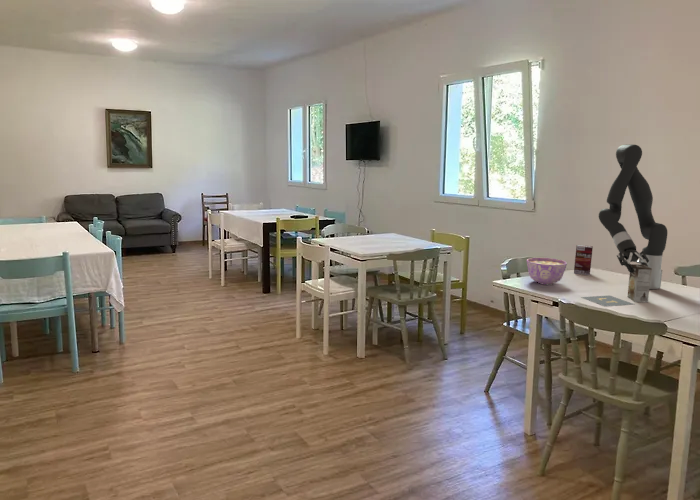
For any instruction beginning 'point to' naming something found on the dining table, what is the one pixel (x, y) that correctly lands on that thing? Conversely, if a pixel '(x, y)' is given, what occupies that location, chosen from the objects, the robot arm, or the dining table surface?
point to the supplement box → (583, 259)
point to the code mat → (607, 300)
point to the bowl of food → (546, 269)
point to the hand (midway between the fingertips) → (640, 271)
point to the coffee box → (639, 283)
